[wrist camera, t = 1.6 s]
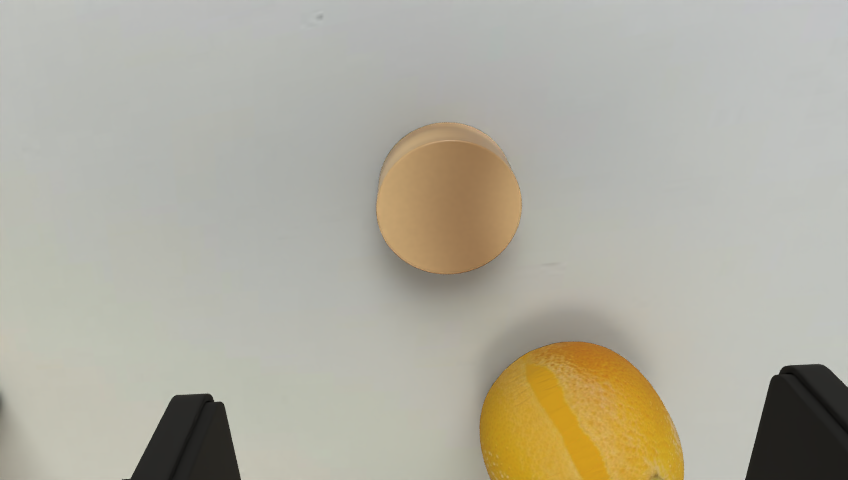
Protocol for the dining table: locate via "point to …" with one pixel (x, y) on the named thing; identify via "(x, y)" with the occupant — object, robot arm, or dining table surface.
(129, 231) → the dining table surface
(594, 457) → the fruit
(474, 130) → the lid
